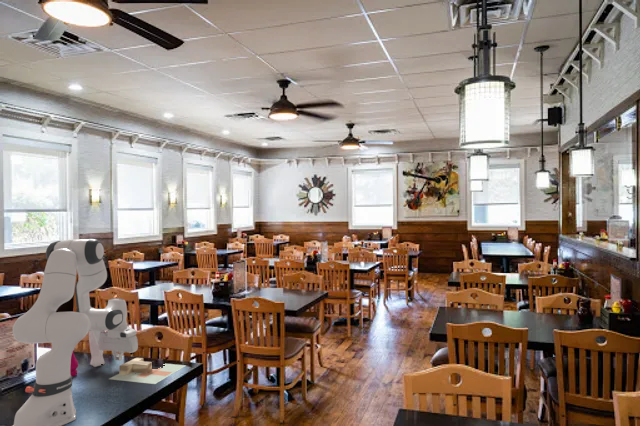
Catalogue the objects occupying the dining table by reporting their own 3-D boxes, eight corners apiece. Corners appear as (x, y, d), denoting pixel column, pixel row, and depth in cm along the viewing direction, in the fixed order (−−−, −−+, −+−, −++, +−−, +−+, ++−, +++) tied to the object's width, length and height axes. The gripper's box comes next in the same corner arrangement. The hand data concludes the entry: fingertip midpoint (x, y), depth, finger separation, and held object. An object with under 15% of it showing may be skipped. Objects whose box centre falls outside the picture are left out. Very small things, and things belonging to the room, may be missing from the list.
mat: (155, 384, 196) (155, 384, 196) (108, 379, 203) (108, 378, 203) (186, 366, 219) (186, 365, 219) (143, 362, 226) (143, 361, 226)
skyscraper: (86, 364, 224) (85, 308, 224) (101, 360, 230) (100, 306, 230) (92, 367, 219) (91, 310, 219) (108, 363, 225) (107, 308, 224)
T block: (141, 376, 205) (141, 367, 205) (119, 374, 209) (119, 365, 209) (157, 367, 217) (157, 359, 217) (136, 365, 220) (136, 357, 220)
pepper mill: (59, 379, 205) (58, 335, 204) (61, 374, 211) (60, 332, 211) (77, 376, 208) (76, 333, 207) (79, 371, 214) (78, 330, 214)
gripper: (95, 332, 216) (95, 360, 216) (130, 334, 210) (131, 363, 210) (104, 328, 222) (105, 356, 222) (139, 331, 216) (140, 359, 217)
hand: (118, 359), depth 216 cm, fingers closed
